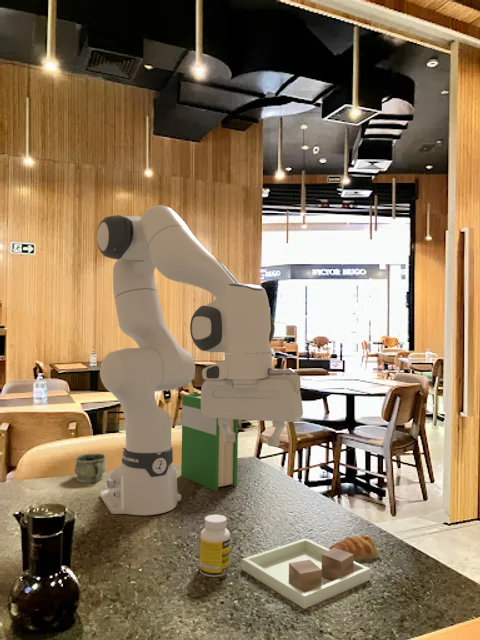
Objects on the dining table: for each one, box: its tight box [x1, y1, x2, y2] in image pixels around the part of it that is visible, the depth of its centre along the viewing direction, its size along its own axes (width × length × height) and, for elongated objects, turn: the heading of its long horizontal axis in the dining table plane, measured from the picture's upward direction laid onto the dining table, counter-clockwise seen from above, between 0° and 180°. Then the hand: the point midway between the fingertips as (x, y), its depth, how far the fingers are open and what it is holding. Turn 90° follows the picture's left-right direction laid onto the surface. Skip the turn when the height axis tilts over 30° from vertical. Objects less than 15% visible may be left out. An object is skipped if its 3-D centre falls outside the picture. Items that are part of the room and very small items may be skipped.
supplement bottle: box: [199, 514, 231, 578], centre depth 94 cm, size 5×5×10 cm
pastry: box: [328, 534, 380, 562], centre depth 101 cm, size 9×7×4 cm
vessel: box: [74, 453, 107, 483], centre depth 149 cm, size 12×9×6 cm
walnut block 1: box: [289, 560, 322, 593], centre depth 86 cm, size 4×4×4 cm
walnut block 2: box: [322, 548, 354, 581], centre depth 91 cm, size 4×4×4 cm
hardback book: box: [180, 392, 239, 492], centre depth 149 cm, size 18×7×24 cm, turn 38°
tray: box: [241, 537, 371, 610], centre depth 92 cm, size 16×16×2 cm
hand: (251, 444), depth 95 cm, fingers open, 8 cm apart
